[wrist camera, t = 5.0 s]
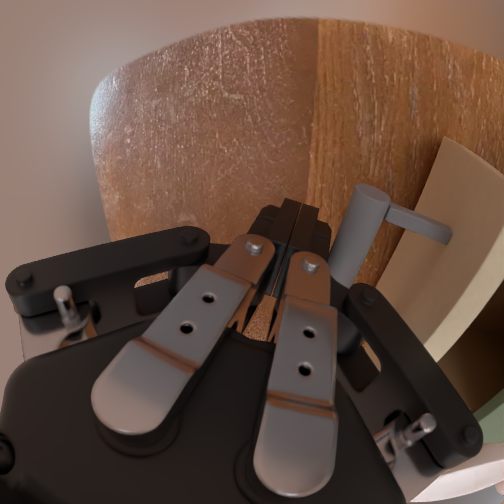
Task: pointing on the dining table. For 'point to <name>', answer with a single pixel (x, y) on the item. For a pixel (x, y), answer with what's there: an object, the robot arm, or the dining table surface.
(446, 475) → the bowl
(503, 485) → the vase
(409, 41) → the dining table surface
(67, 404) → the robot arm
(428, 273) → the drawer
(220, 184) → the dining table surface
